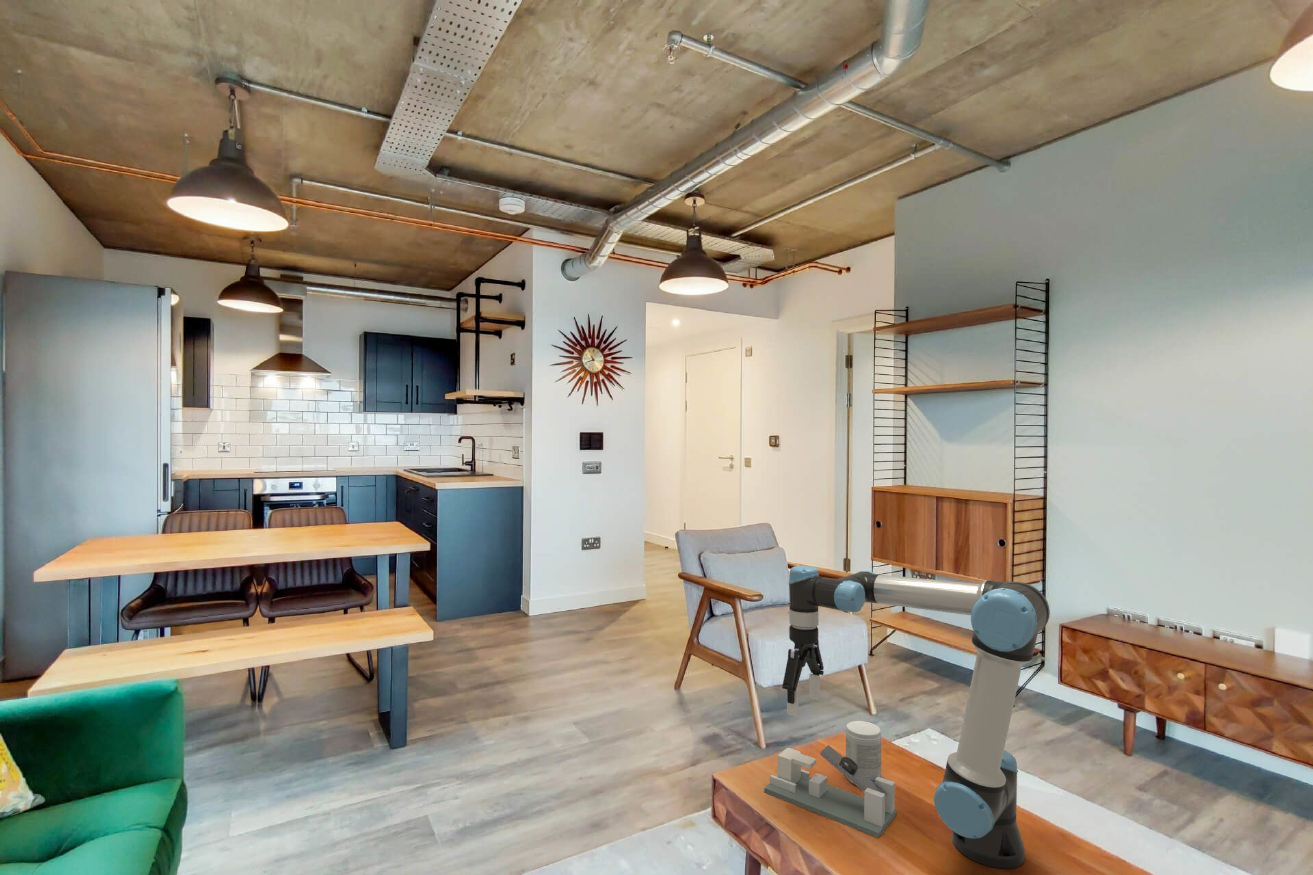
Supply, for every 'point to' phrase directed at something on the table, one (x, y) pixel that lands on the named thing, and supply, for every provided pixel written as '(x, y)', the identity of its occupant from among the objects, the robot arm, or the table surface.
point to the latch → (793, 764)
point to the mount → (839, 801)
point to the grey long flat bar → (849, 769)
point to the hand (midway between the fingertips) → (803, 706)
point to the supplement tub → (864, 747)
